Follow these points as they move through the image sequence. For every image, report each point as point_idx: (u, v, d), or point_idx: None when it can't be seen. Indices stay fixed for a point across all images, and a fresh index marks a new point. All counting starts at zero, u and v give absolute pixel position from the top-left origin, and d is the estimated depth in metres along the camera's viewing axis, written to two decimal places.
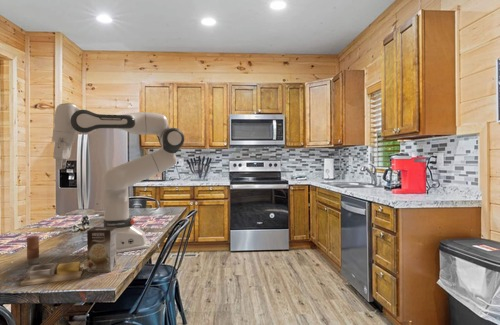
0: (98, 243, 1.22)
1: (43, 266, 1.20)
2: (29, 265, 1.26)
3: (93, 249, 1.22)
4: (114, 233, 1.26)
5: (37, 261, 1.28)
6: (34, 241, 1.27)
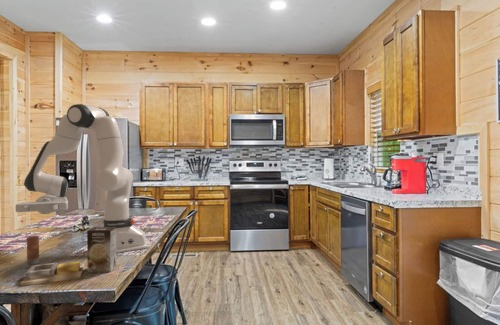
0: (98, 243, 1.22)
1: (43, 266, 1.20)
2: (29, 265, 1.26)
3: (93, 249, 1.22)
4: (114, 233, 1.26)
5: (37, 261, 1.28)
6: (34, 241, 1.27)
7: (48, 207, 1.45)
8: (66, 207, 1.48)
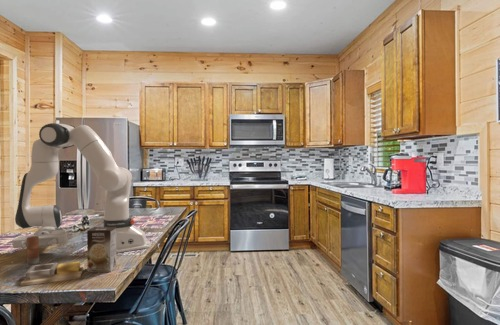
0: (98, 243, 1.22)
1: (43, 266, 1.20)
2: (29, 265, 1.26)
3: (93, 249, 1.22)
4: (114, 233, 1.26)
5: (37, 261, 1.28)
6: (34, 241, 1.27)
7: (46, 241, 1.40)
8: (65, 241, 1.43)
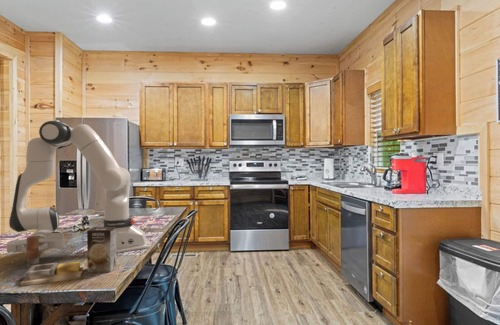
0: (98, 243, 1.22)
1: (43, 266, 1.20)
2: (29, 265, 1.26)
3: (93, 249, 1.22)
4: (114, 233, 1.26)
5: (37, 261, 1.28)
6: (34, 241, 1.27)
7: None
8: (62, 245, 1.36)
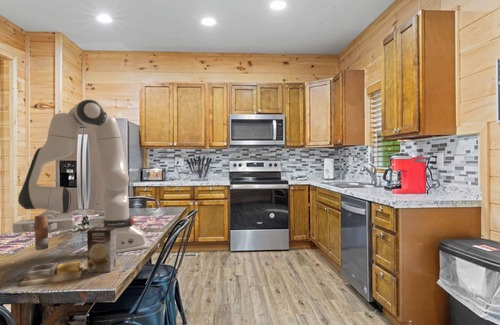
0: (98, 243, 1.22)
1: (43, 266, 1.20)
2: (37, 246, 1.15)
3: (93, 249, 1.22)
4: (114, 233, 1.26)
5: (46, 242, 1.17)
6: (42, 220, 1.16)
7: None
8: (73, 225, 1.25)
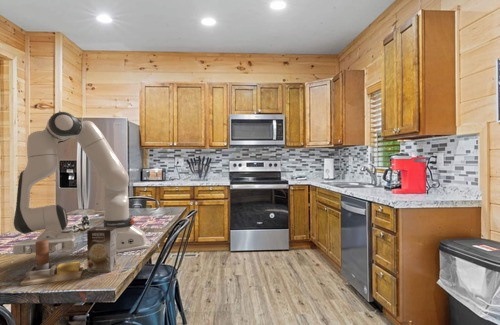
0: (98, 243, 1.22)
1: None
2: None
3: (93, 249, 1.22)
4: (114, 233, 1.26)
5: (47, 267, 1.17)
6: (43, 246, 1.16)
7: (52, 247, 1.23)
8: (73, 246, 1.25)
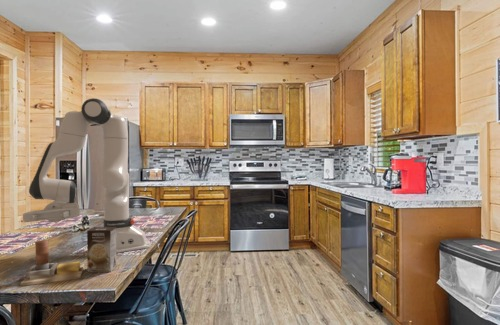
0: (98, 243, 1.22)
1: None
2: None
3: (93, 249, 1.22)
4: (114, 233, 1.26)
5: (47, 267, 1.17)
6: (43, 246, 1.16)
7: (58, 215, 1.33)
8: (78, 213, 1.35)
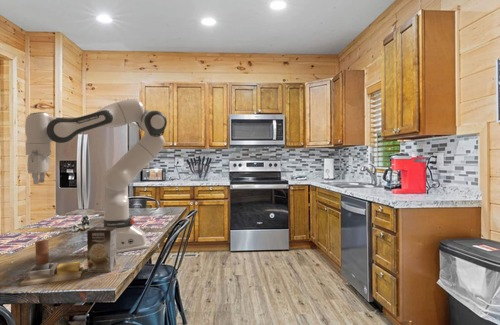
0: (98, 243, 1.22)
1: None
2: None
3: (93, 249, 1.22)
4: (114, 233, 1.26)
5: (47, 267, 1.17)
6: (43, 246, 1.16)
7: None
8: None
